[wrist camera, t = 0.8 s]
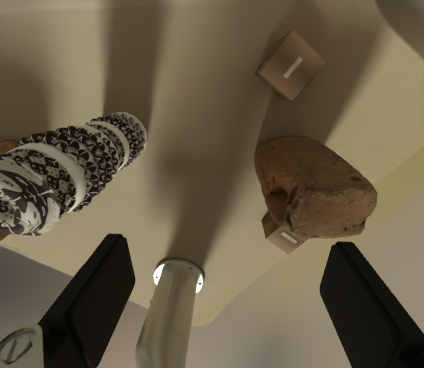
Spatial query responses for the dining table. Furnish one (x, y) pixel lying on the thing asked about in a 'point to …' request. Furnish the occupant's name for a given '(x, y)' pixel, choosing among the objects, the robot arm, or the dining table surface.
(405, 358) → the robot arm
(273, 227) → the walnut cube
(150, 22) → the dining table surface
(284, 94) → the walnut cube
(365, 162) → the dining table surface
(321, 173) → the block
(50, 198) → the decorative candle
